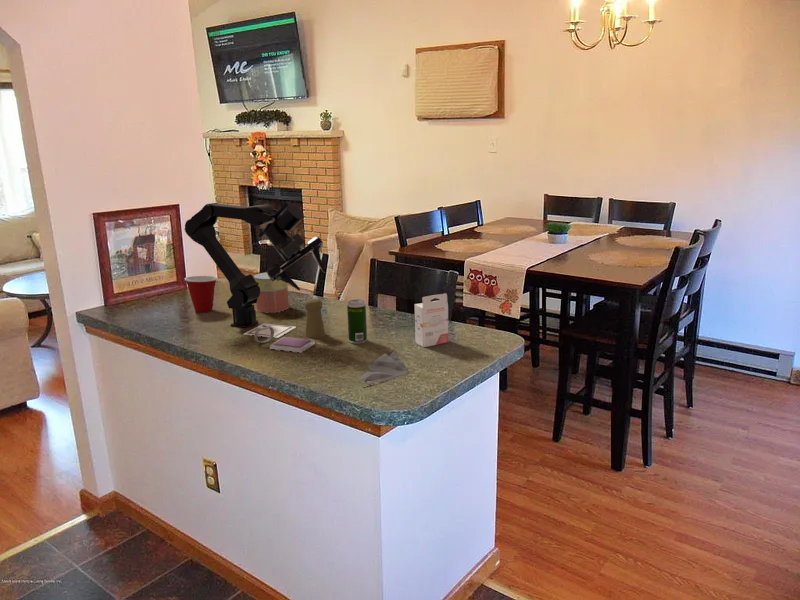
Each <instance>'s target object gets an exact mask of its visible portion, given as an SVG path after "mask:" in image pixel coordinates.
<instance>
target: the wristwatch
mask: <svg viewBox="0 0 800 600" xmlns="http://www.w3.org/2000/svg"><path fill="white" fill-rule="evenodd" d="M264 324H265V325H262V326H259V325H257V326H256V327H255V328H257V329H256V331H255V334H254V336H253V337H254V338H253V339H254V340H255V341H256V342H257V343H260V344H266V342H267V343H269V342H270V341H271V340H272V339H274V338H273V336H274V330H273V329H272V327H271V326H269V325H266V324H267V323H264ZM269 328H270V330H271V334H270V337H267V339H266V340H263V341H262V340H261V341H260V340H259V338H258V337H259V336H258V332H259V331H260V330H265V329H269Z"/></svg>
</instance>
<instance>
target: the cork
mask: <svg viewBox="0 0 800 600" xmlns="http://www.w3.org/2000/svg"><path fill="white" fill-rule="evenodd" d="M304 308H305V310H306V320H305V330H304V331H305V333H304V334H305V337H307V338H311V339H315V338H321V337H324V336H325V335H326V330H325V325H324V321H323V320H324V319H323V315H322V308H323V301H322V300H321V299H318V298H310V299H307V300H306V301H305V303H304Z"/></svg>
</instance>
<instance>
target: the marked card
mask: <svg viewBox="0 0 800 600" xmlns="http://www.w3.org/2000/svg"><path fill="white" fill-rule="evenodd" d="M265 324H266V325H269V326H271V327H272V329H273V330H274V336H273V337H274V338H273V339H280V338H282V337H284V334H285V335H286V334H288V333H290V332H291V331H293V330H295V329H297V326H293V325H282V324H280V325H279V324H271V323H261V324H259V325H258V326H262V325H265ZM256 329H257V328H256V327H253V328H252V329H250V330H248V331H246V332H244V333H243V335H244V336H252V335H254V334H255V331H256ZM270 334H271V330H270V328H269V329H265V330H260V331H259V332H258V336H257V337H261V336H262V337H263V338H269V337H270Z"/></svg>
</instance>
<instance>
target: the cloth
mask: <svg viewBox="0 0 800 600" xmlns="http://www.w3.org/2000/svg"><path fill="white" fill-rule="evenodd" d="M408 370H409V369H408V367H407V366H406V364H405V363H404V362H403V360H402V359H401V358H400V357H399V355H398V354H397V351H395V350H393V351H392V352H391V354H389V355H388V354H387V353H386V352H385V353H383V354H382V355H381V356H379V357H378V358H377V359H375V360H374V361H373V362H372V364H370V365H369V366H368V371H367V372H364V373H363V375H361V376H360V377H359V378H358V380H362V381H364V382H367V381H371V382H370V383H365V384H366V385H371V384H375V383H374V382H378V383H380V384H382V383H381V382H383V383H385V382H384V381H387V380H390V381H393V380H396V379H397V378H396V377H398V378H400V377H399V376H401V377H404V376H406V375H408V374H409V373H410V372H409V371H408ZM395 378H396V379H395ZM392 379H393V380H392ZM372 381H373V382H372ZM387 382H388V381H387Z"/></svg>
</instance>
